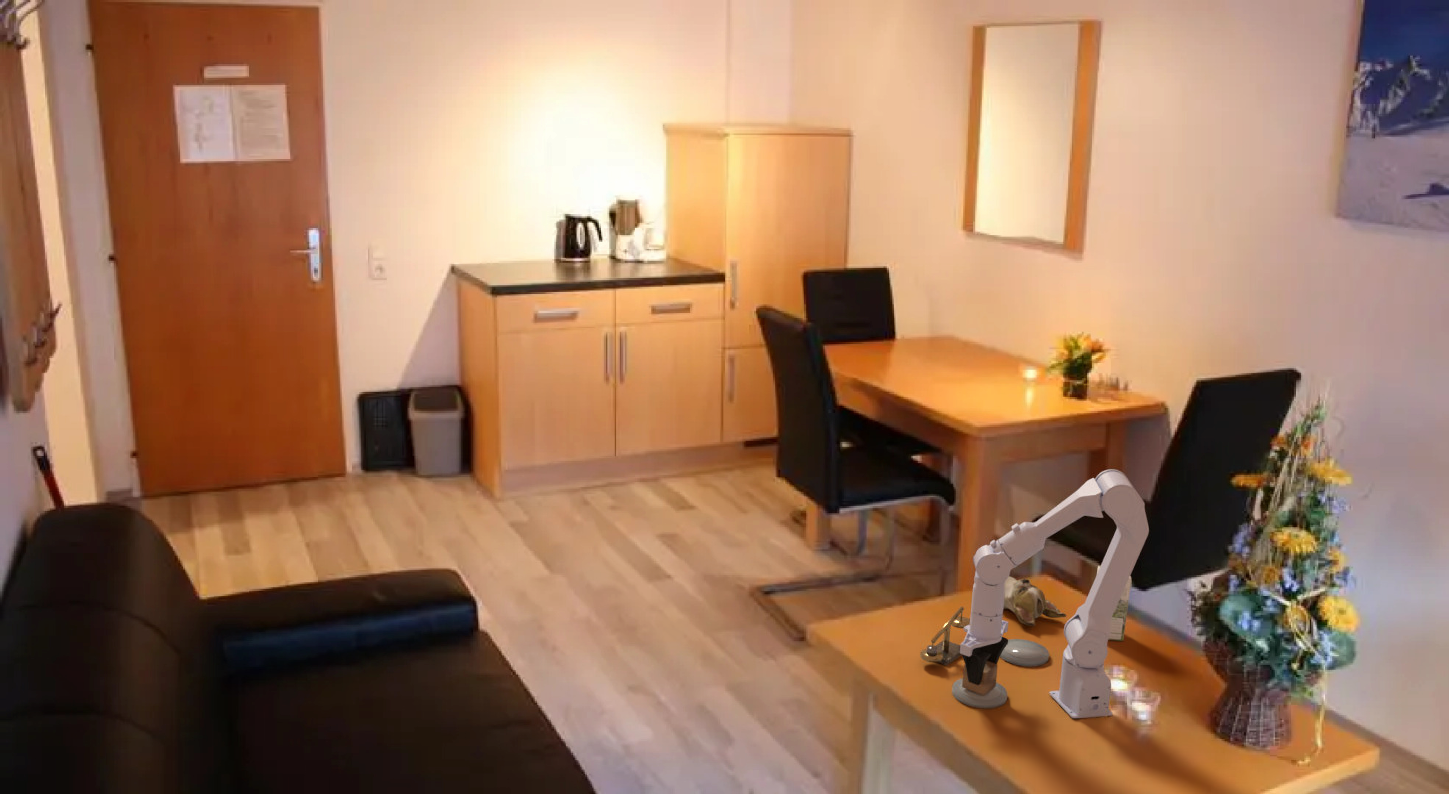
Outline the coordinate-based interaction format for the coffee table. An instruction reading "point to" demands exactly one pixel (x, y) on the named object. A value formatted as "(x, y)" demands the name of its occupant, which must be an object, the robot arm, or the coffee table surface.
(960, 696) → the left dish
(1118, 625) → the syrup box
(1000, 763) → the coffee table surface
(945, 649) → the bronze balance
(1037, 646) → the right dish
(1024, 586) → the ceramic sculpture
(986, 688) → the walnut block
